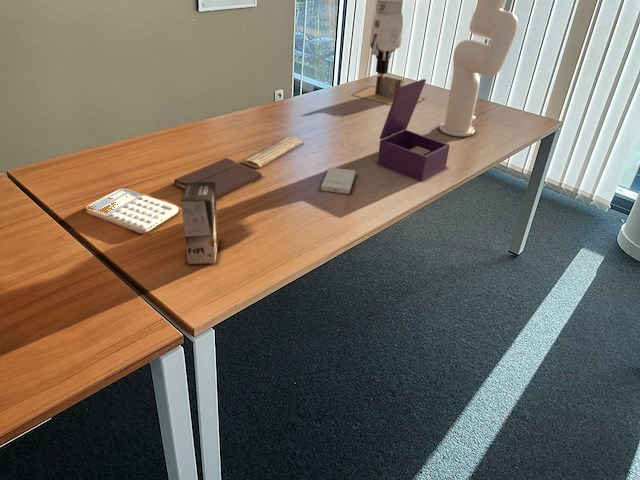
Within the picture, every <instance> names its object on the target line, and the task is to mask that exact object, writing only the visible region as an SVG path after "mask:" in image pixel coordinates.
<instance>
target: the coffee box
mask: <svg viewBox="0 0 640 480" xmlns="http://www.w3.org/2000/svg"><path fill="white" fill-rule="evenodd" d="M180 203H181V213H182V221H183V230H184V231H183V232H184V240H185V248H186V249H185V250H186V258H187V259H186V260H187V264H189V265H191V264H216V261H217V256H218V255H217V254H218V248H219V242H220V239H219V237H220V236H219V223H218V210H217V199H216V194H215V182H187V184H186V187H185V190H184V189H183V193H182V196H181V199H180ZM188 260H189V261H188ZM190 260H191V261H190ZM200 260H201V261H200Z"/></svg>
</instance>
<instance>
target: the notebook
mask: <svg viewBox="0 0 640 480" xmlns="http://www.w3.org/2000/svg"><path fill="white" fill-rule="evenodd" d="M262 175H263V174H262V172H260V171H258V170H256V169H253V168H250V167H248V166H245V165H243V164H242V163H238V162H237V161H234V160H233V159H230V158H228V157H225V158H222V159H219V160H218V161H216V162H215V161H214V162H213V163H211V164H208V165H205V166H203V167H200V168H199V169H196V170H194V171H191V172H189V173H187V174H184V175H182V176H180V177H177V178H175V179H174V185H175V186H176V187H179V188H180V189H183V191H184V190H185V187H186V184H187V182H215V194H216V200H217V199H220V198H222V197H224V196H226V195H228V194H230V193H232V192H234V191H236V190H238V189H241V188H242V187H244V186H247V185H248V184H251V183H253V182H255V181H257V180H259V179H261V178H262Z"/></svg>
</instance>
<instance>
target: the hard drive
mask: <svg viewBox="0 0 640 480" xmlns="http://www.w3.org/2000/svg"><path fill="white" fill-rule="evenodd" d="M356 174H357V171H356V170H354V169H347V168H346V169H345V168H337V167H328V169H327V172H326V174H325V177H324V179H323V181H322V184H321V185H320V190H321V191H324V192H330V193H338V194H350V192H351V189H352V186H353V183H354V180H355V178H356Z"/></svg>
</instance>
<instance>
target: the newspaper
mask: <svg viewBox="0 0 640 480" xmlns="http://www.w3.org/2000/svg"><path fill="white" fill-rule="evenodd" d="M301 144H303V141H302V140H301V139H300V138H297V137H295V136H287V137H286V138H283V139H281V140H280V141H278V142H276V143H274V144H272V145H271V146H269V147H267V148H265V149H263V150H261V151H259V152H258V153H256V154H254V155H252V156H250V157H248V158H246V159H244V160H243V161H241V163H240V164H245V165H247V166H250V167H252V168H255V169H259V168H260V167H263V166H264V165H266V164H267V163H270V162H271V161H273V160H275V159H276V158H278V157H280V156H282V155H284V154H285V153H287V152H289V151H290V150H292V149H294V148H296V147H298V146H299V145H301Z"/></svg>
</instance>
